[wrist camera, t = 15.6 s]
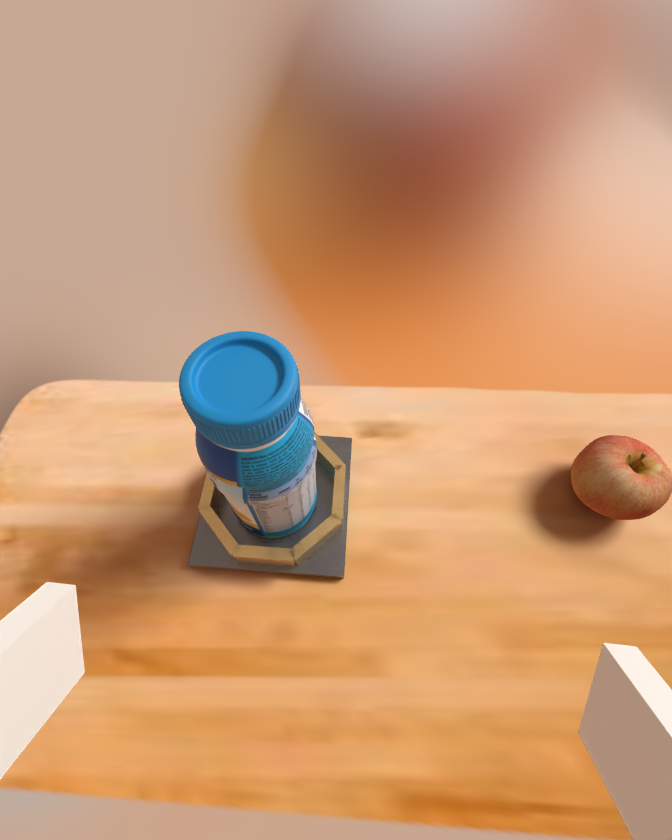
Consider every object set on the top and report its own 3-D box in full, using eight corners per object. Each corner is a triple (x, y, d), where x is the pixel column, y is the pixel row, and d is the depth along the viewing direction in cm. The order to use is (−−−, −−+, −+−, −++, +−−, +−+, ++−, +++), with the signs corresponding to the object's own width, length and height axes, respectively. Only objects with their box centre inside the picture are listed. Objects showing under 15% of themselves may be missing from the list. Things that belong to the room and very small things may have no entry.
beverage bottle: (307, 549, 38) (292, 453, 20) (219, 530, 38) (133, 423, 21) (326, 466, 42) (327, 330, 25) (247, 451, 43) (193, 307, 25)
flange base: (351, 442, 44) (353, 426, 41) (343, 578, 37) (345, 571, 34) (223, 433, 45) (215, 416, 42) (191, 566, 38) (179, 558, 35)
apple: (542, 463, 44) (583, 426, 37) (609, 450, 45) (661, 412, 38) (580, 537, 40) (633, 511, 33) (652, 521, 41) (719, 492, 34)
